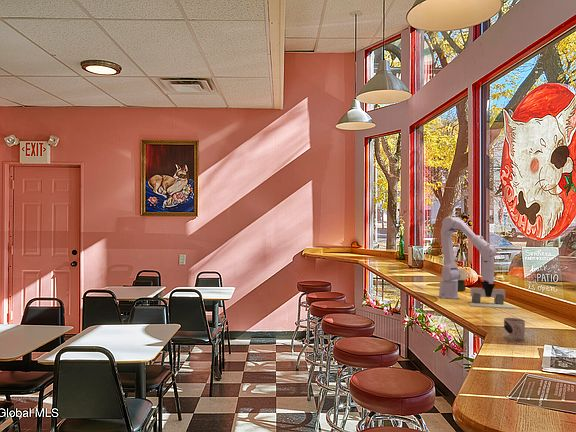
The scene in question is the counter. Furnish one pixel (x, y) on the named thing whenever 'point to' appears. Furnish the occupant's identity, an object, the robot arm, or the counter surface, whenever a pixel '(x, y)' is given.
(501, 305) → the mat
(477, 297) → the brown boxy piece
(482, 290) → the rail
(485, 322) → the counter surface
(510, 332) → the mug
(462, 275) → the character mug
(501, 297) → the post right
